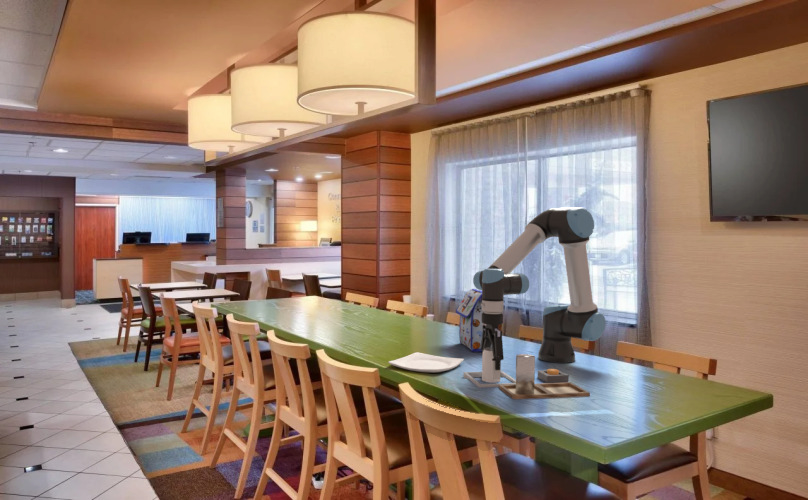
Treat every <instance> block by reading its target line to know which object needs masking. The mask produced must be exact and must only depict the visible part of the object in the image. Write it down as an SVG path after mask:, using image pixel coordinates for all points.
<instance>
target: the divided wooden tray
mask: <svg viewBox="0 0 808 500" xmlns="http://www.w3.org/2000/svg"><path fill="white" fill-rule="evenodd" d="M498 389H500V390H501V391H502V392H503V393H505V394H506V395H508V397H510V398H511V399H513V400H527V399H528V400H529V399H550V398H553V399H554V398H572V397H573V398H575V397H590V396H591V392H590V391H587V390H586V389H584V388H583V387H580V386H579V385H577V384H574V383H572V382H569V381H568V382H565V383H546V382H541V383H534V394H526V395H521V394H517V393H516V384H513V385H499V387H498Z"/></svg>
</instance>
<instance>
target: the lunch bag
mask: <svg viewBox="0 0 808 500" xmlns="http://www.w3.org/2000/svg"><path fill="white" fill-rule="evenodd" d="M481 303H482V290H479V289H477V288H471V289H469V290H468V291H467V292H466V293H465V294H464V296H463V298H462V300H461V302H460V303H459V304H458V306H457V308H456V309H455V313H456V314H457V315H459V333H458V334H459V343H460V344H461V345H464V346H465V347H466V348H468V349H469V350H471V352H475V353H476V352H482V350H481V341H482V332H483V327H482V326H483V325H486V324H483V323H482V313H483V311H482V306H481ZM498 328H499V326H498ZM491 348H492V344H491Z"/></svg>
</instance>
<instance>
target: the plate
mask: <svg viewBox="0 0 808 500" xmlns="http://www.w3.org/2000/svg"><path fill="white" fill-rule="evenodd" d="M464 360H465V359H464V358H458V357H447V356H439V355H432V354H428V353H422V352H418V351H417V352H416V351H415V352H413V353H411V354H409V355H406V356H403V357H400V358H397V359H394V360H388V364H390V365H391V366H393V367H397V368H399V369H404V370H408V371H411V372H418V373H419V372H420V373H430V374H431V373H433V374H434V373H441V372H445V371H450V370H452V369H454V368H456V367H458V366H459V365H460V364H461V363H462V362H463V361H464Z"/></svg>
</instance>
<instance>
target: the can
mask: <svg viewBox="0 0 808 500" xmlns="http://www.w3.org/2000/svg"><path fill="white" fill-rule="evenodd" d="M493 358H494V357H493V351H492V348H484V351H483V353H482V357H481V359H482V360H481V362H482V363H481V366H482V367H481V368H482V369H481V372H482V377H481V381H482V382H486V383H499V382H500V383H501V378H500V379H492V368H493V361H492V359H493Z"/></svg>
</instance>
